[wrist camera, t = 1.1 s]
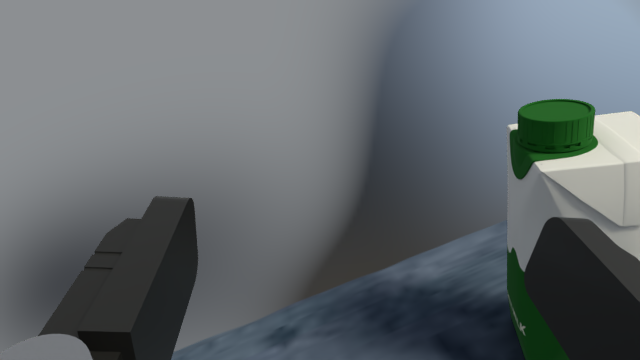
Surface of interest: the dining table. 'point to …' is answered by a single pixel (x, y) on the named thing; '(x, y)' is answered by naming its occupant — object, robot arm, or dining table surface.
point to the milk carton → (566, 193)
